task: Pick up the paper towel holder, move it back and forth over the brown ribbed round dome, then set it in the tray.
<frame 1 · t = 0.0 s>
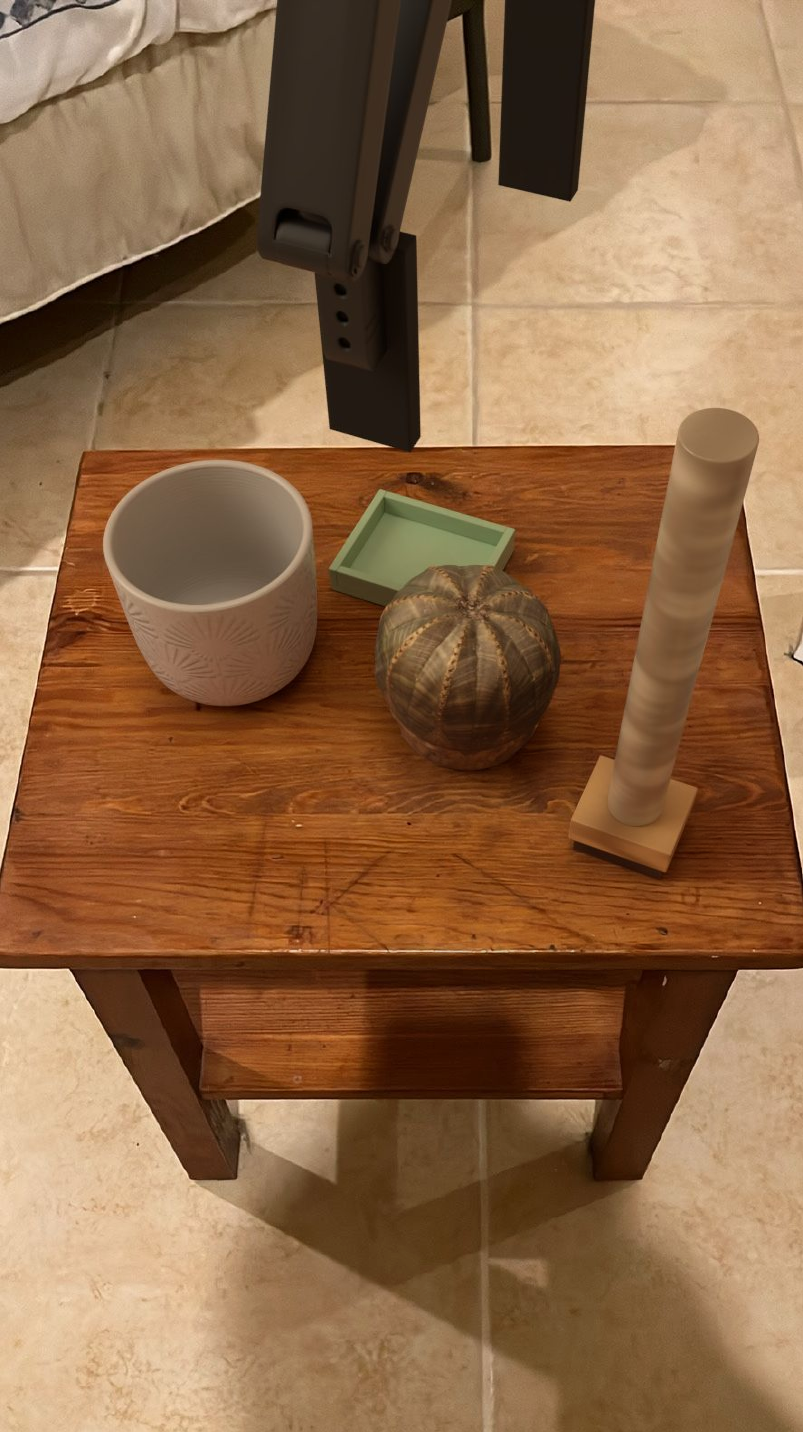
hand: (462, 302, 42), 39 cm above the table, tool pointing down, fingers open, 13 cm apart
tray: (423, 569, 88), on the table
planter: (234, 654, 85), on the table
paper towel holder: (627, 836, 77), on the table
brown ribbed round dome: (465, 731, 81), on the table
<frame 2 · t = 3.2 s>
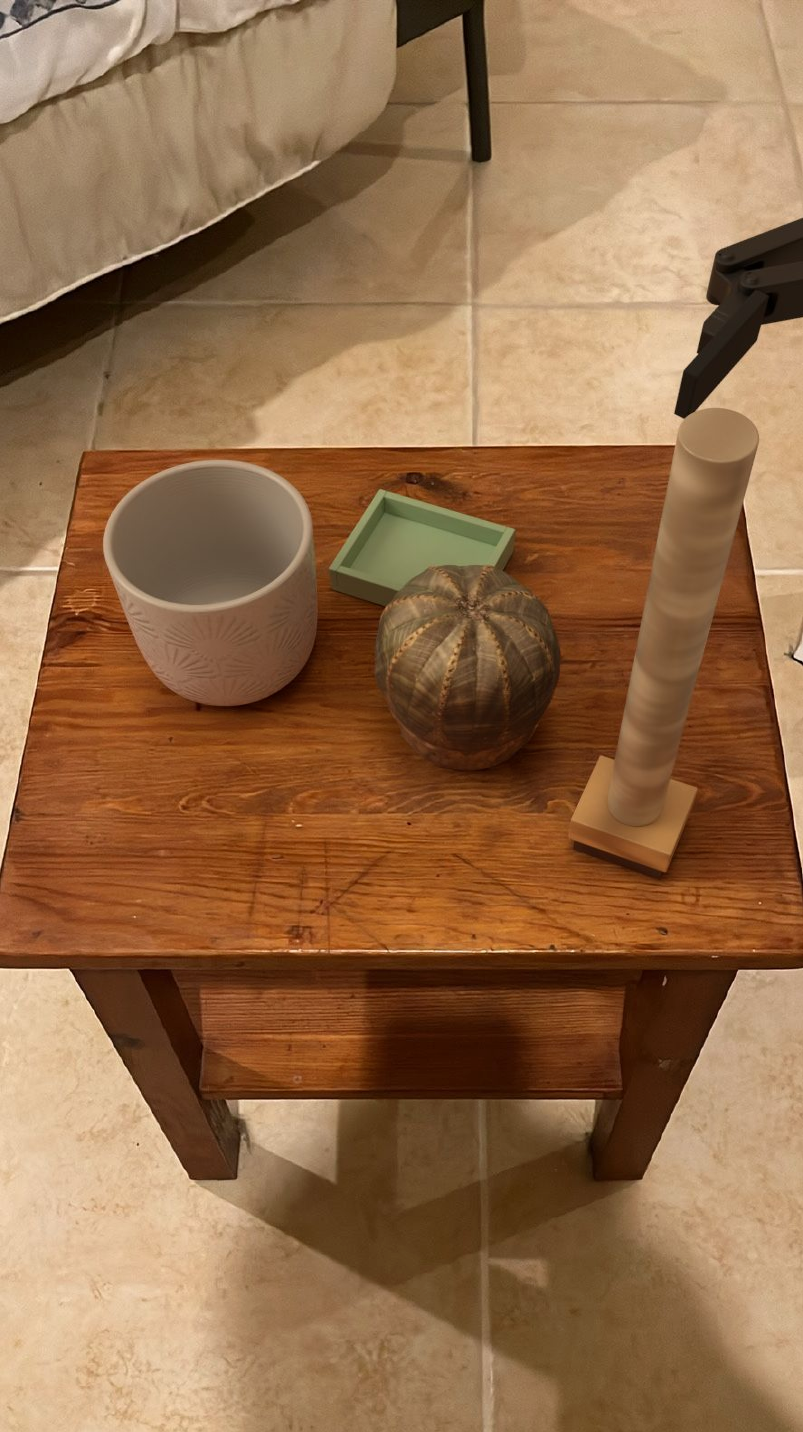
nothing on the table moved.
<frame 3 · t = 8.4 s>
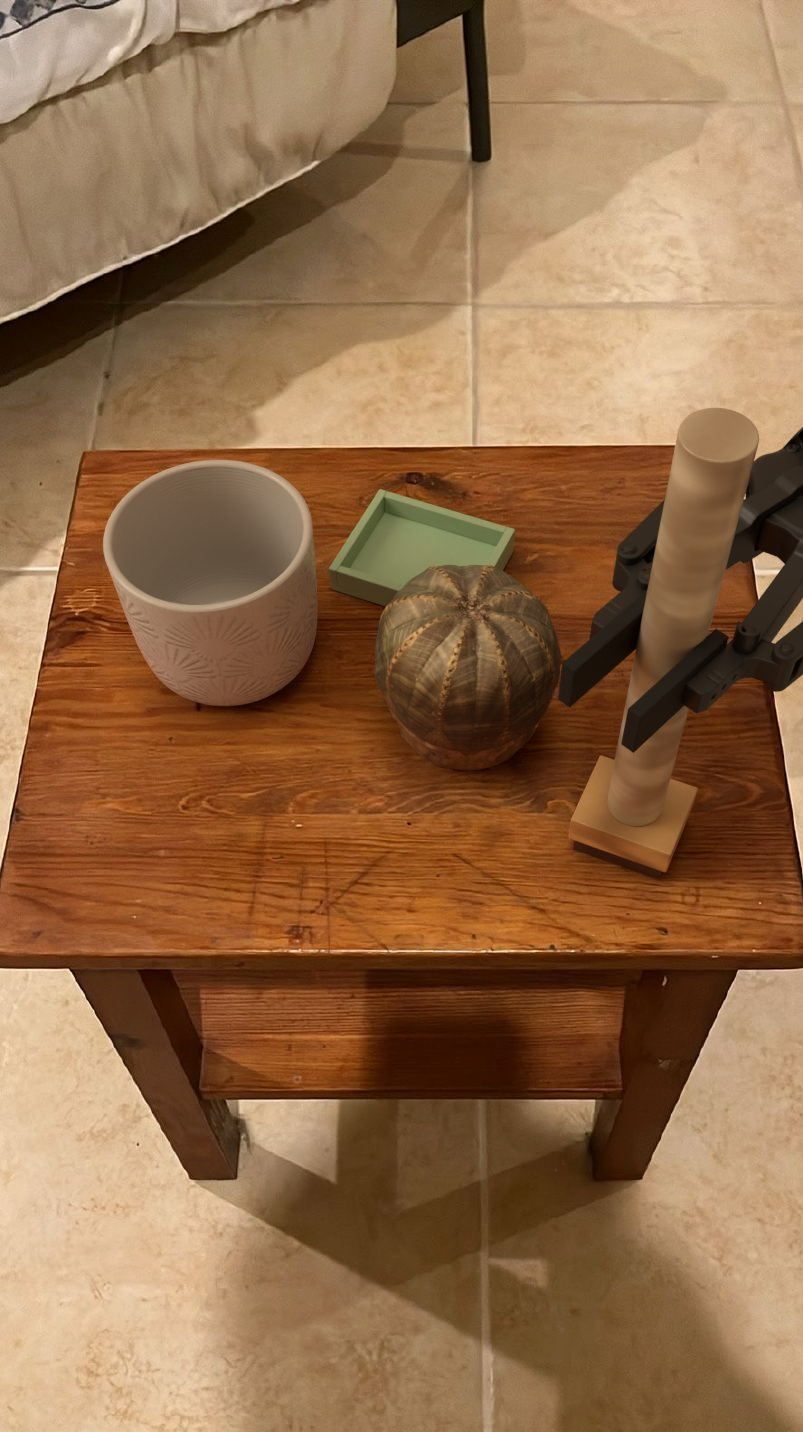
hand: (598, 707, 60), 18 cm above the table, tool horizontal, fingers closed on paper towel holder, 3 cm apart
paper towel holder: (627, 836, 77), on the table, touching gripper
everything else where it was.
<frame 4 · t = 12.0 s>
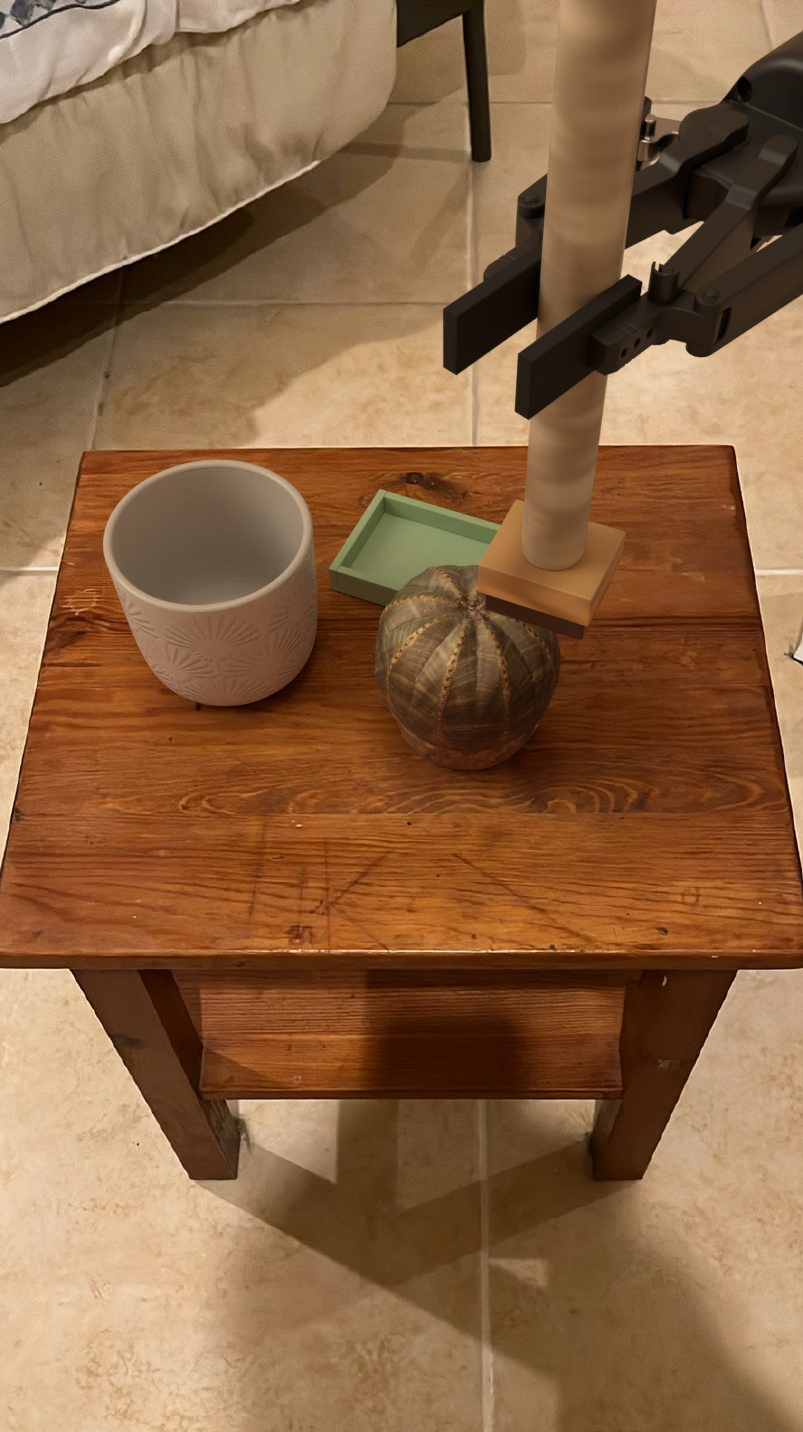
hand: (486, 364, 50), 32 cm above the table, tool horizontal, fingers closed on paper towel holder, 3 cm apart
paper towel holder: (548, 595, 67), point 15 cm above the table, touching gripper
everything else where it was.
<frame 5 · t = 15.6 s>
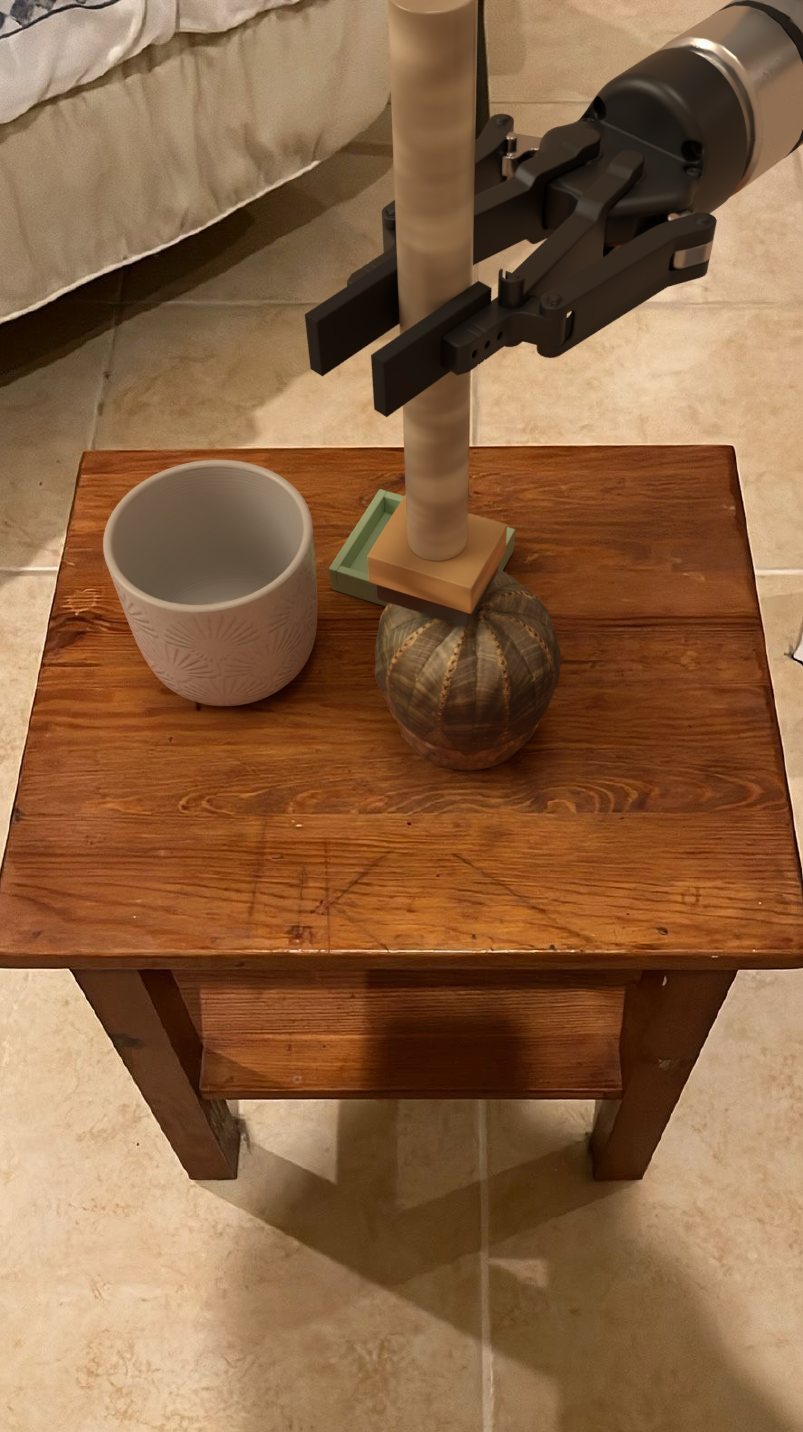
hand: (346, 365, 54), 30 cm above the table, tool horizontal, fingers closed on paper towel holder, 3 cm apart
paper towel holder: (437, 586, 71), point 12 cm above the table, touching gripper
everything else where it was.
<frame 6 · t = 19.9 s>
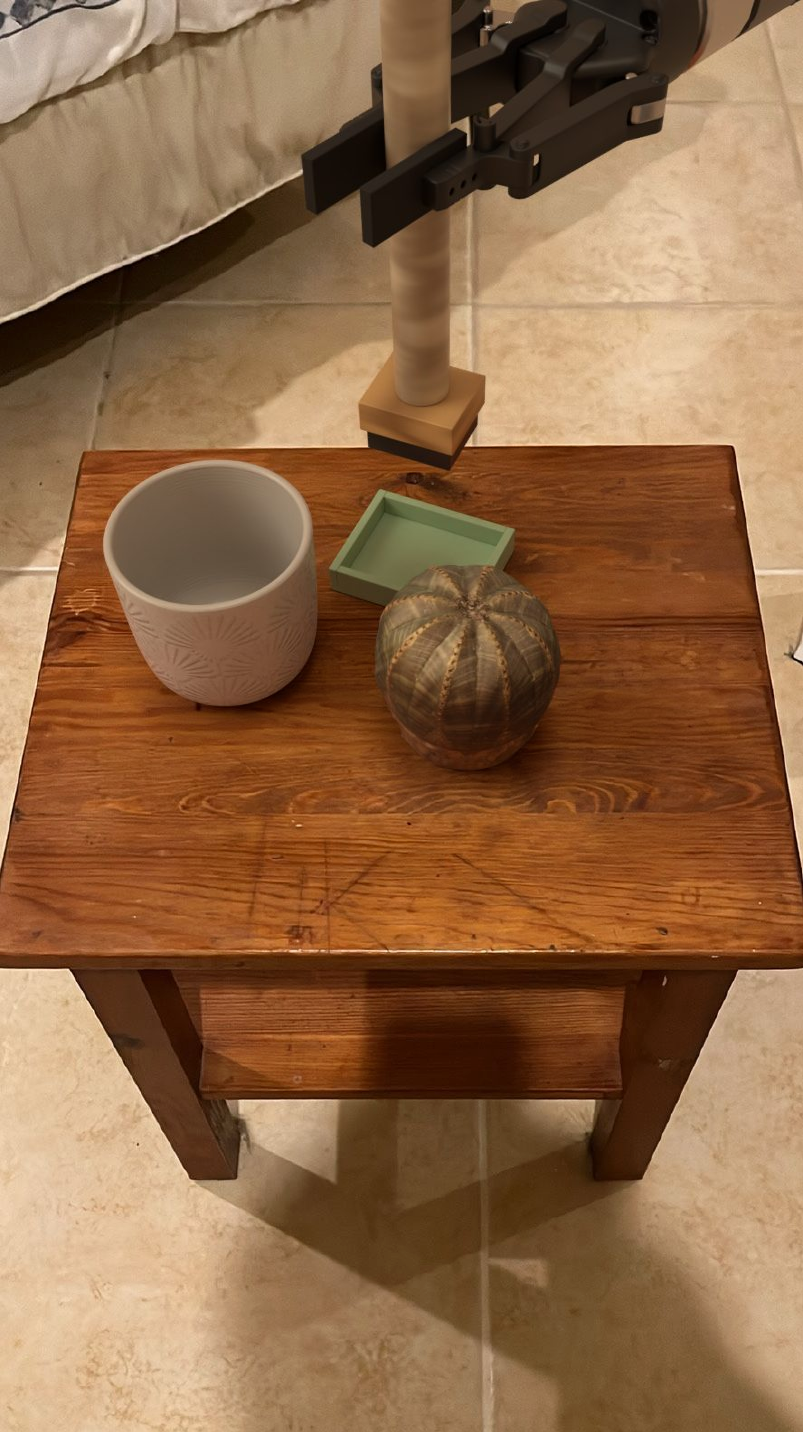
hand: (338, 201, 61), 29 cm above the table, tool horizontal, fingers closed on paper towel holder, 3 cm apart
paper towel holder: (423, 436, 78), point 12 cm above the table, touching gripper
everything else where it was.
when the fingers open (18 cm above the table, at t = 23.1 s): paper towel holder stays where it is, resting on tray.
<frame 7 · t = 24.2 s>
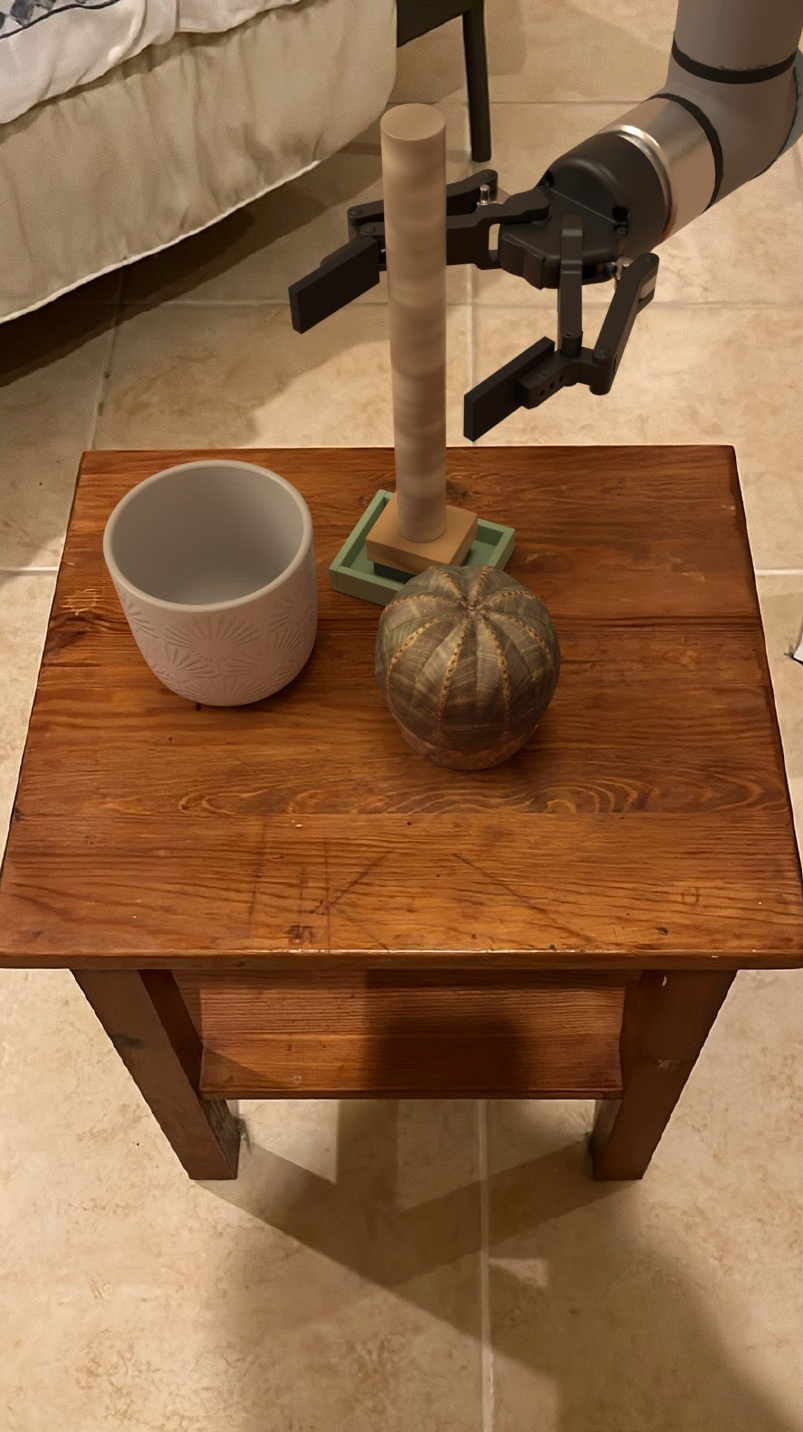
hand: (377, 363, 71), 19 cm above the table, tool horizontal, fingers open, 13 cm apart
paper towel holder: (422, 563, 88), resting on tray
everything else where it was.
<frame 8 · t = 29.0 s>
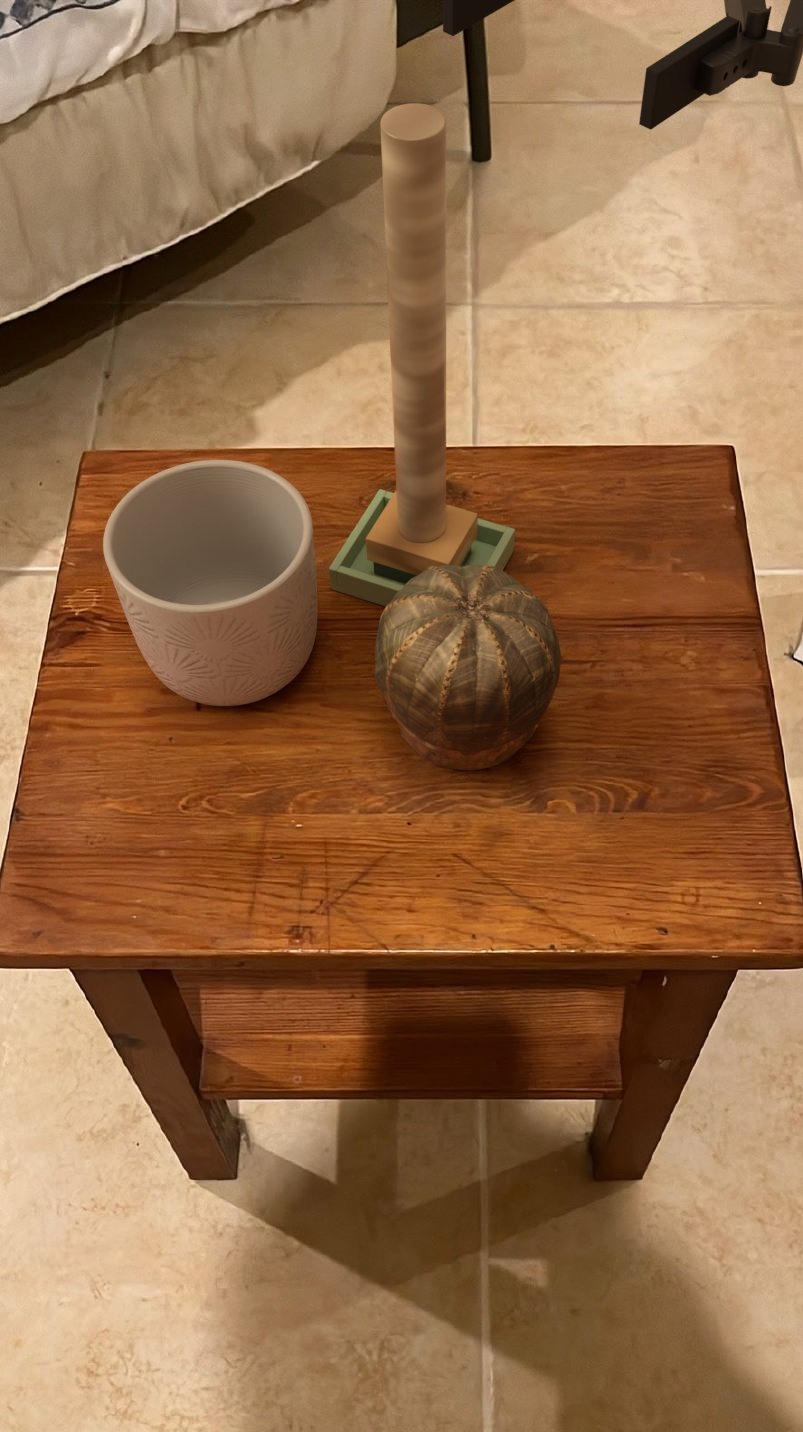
hand: (543, 51, 66), 30 cm above the table, tool horizontal, fingers open, 13 cm apart
nothing on the table moved.
at the end: paper towel holder 0.1 cm off-centre in the tray, point 0.5 cm above the tray's base; paper towel holder tilted 0°; brown ribbed round dome moved 0.2 cm from its start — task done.
